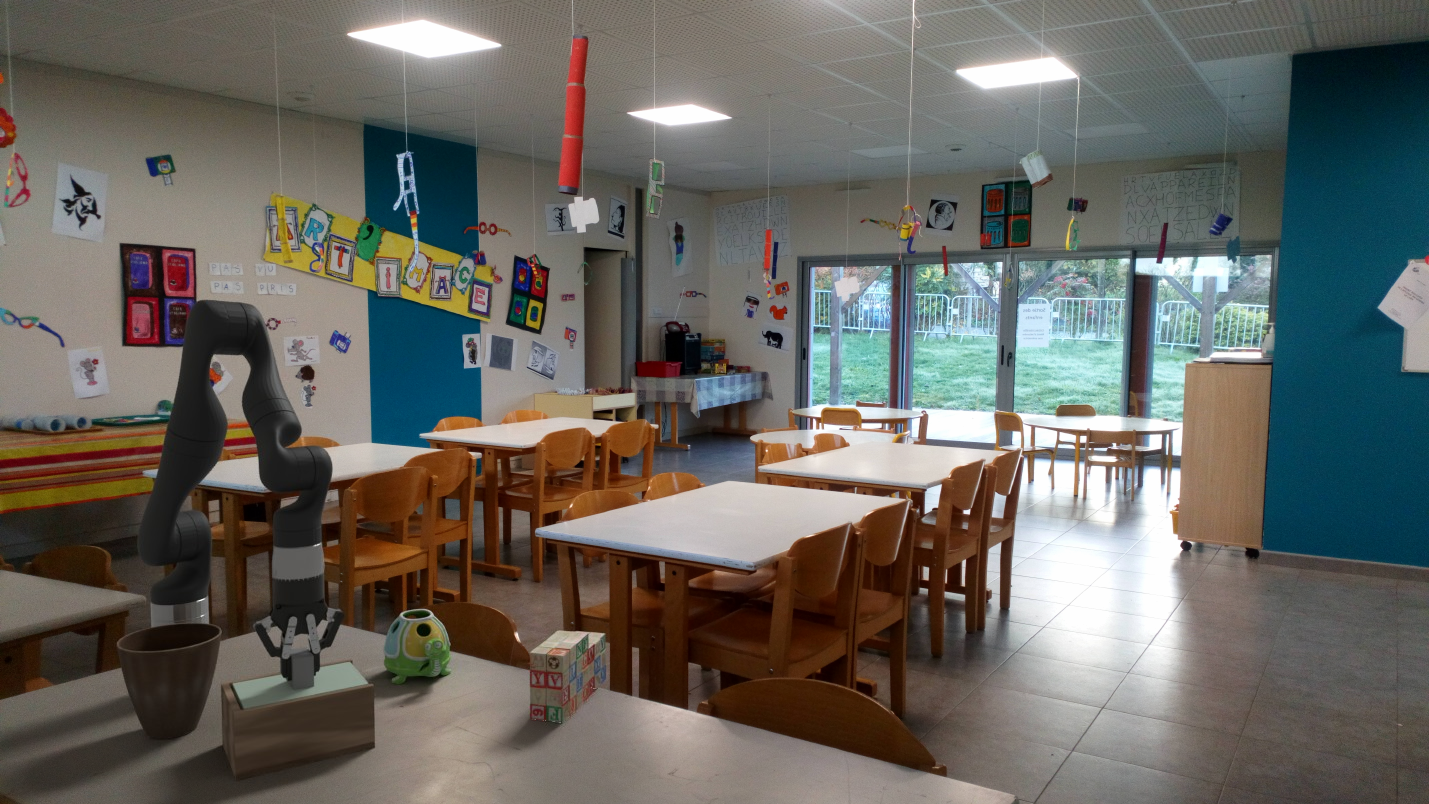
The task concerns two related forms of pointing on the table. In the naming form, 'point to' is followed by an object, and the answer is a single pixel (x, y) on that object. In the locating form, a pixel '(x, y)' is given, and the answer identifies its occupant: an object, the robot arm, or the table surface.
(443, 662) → the turtle holder
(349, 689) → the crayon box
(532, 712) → the stack of blocks
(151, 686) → the plant pot
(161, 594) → the robot arm
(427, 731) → the table surface
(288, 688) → the lid
